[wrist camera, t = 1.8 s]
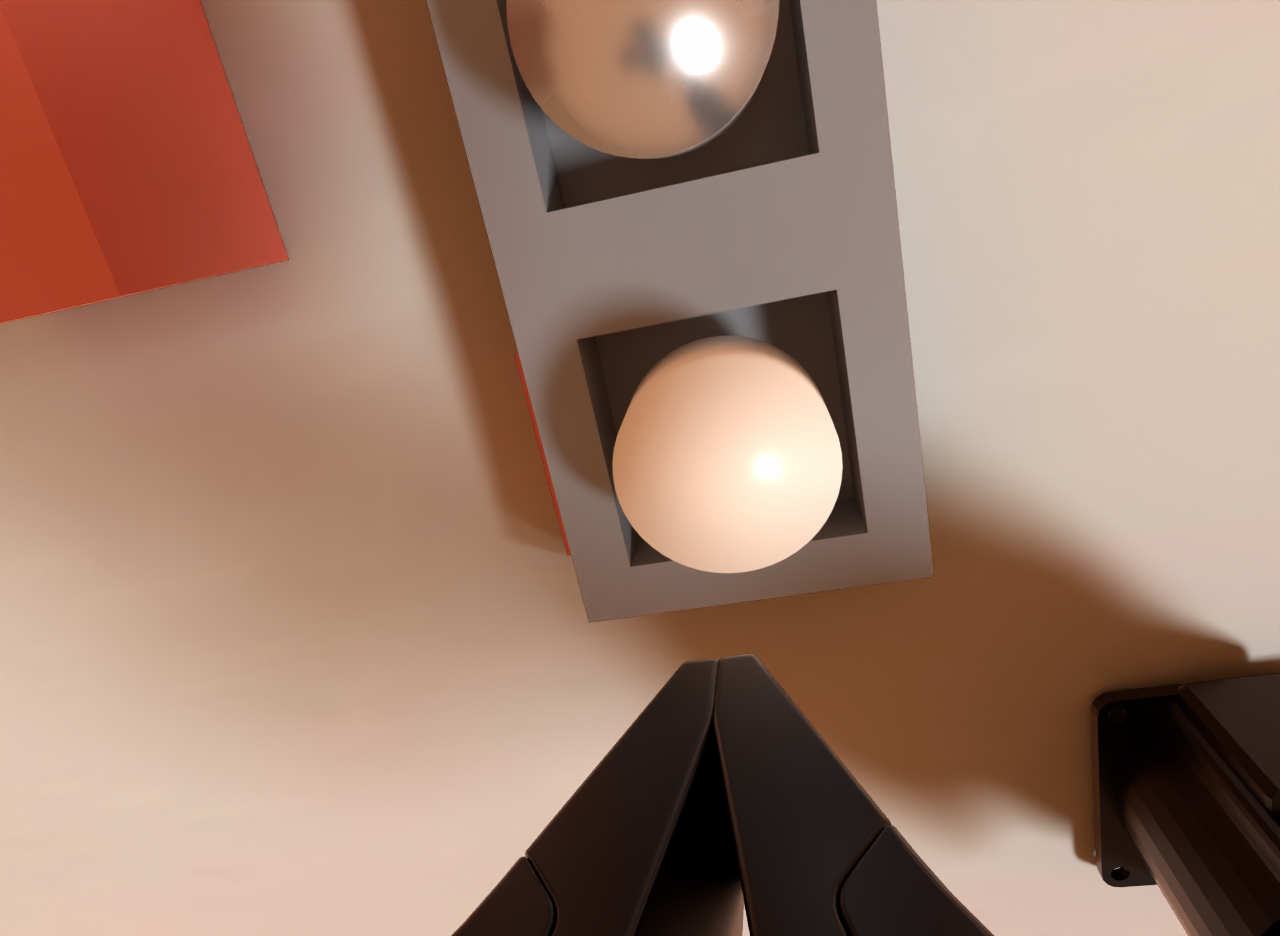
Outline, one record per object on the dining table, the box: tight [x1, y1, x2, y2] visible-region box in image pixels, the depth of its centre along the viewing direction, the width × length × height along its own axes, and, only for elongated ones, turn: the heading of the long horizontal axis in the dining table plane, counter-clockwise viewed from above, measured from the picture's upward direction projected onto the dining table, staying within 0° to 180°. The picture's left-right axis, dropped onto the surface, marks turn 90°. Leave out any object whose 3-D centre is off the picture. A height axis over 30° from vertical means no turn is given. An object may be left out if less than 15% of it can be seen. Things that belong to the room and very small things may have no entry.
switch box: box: [426, 0, 934, 623], centre depth 18 cm, size 16×8×3 cm, turn 12°
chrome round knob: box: [506, 0, 779, 159], centre depth 14 cm, size 4×4×2 cm
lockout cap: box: [0, 0, 289, 324], centre depth 17 cm, size 7×7×6 cm
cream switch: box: [613, 336, 843, 573], centre depth 17 cm, size 4×4×2 cm
